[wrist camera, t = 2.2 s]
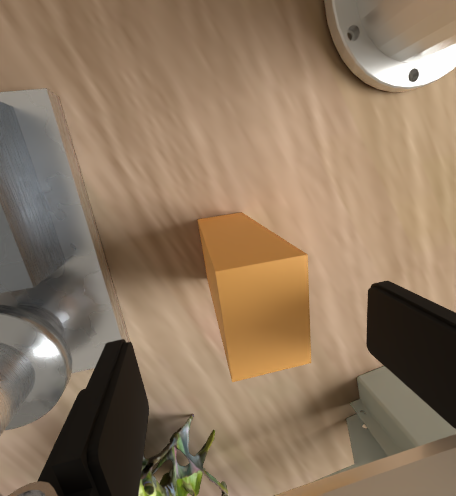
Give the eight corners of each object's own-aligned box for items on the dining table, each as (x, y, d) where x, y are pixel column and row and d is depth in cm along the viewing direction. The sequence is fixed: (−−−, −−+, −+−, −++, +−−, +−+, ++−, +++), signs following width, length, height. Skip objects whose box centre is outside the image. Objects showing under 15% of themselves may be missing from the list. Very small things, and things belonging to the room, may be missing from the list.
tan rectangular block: (197, 219, 19) (215, 271, 9) (241, 212, 20) (307, 254, 9) (207, 278, 21) (232, 382, 10) (248, 270, 21) (311, 363, 11)
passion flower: (125, 392, 29) (24, 448, 17) (214, 367, 28) (167, 410, 16) (143, 511, 26) (34, 674, 14) (245, 490, 24) (213, 650, 13)
